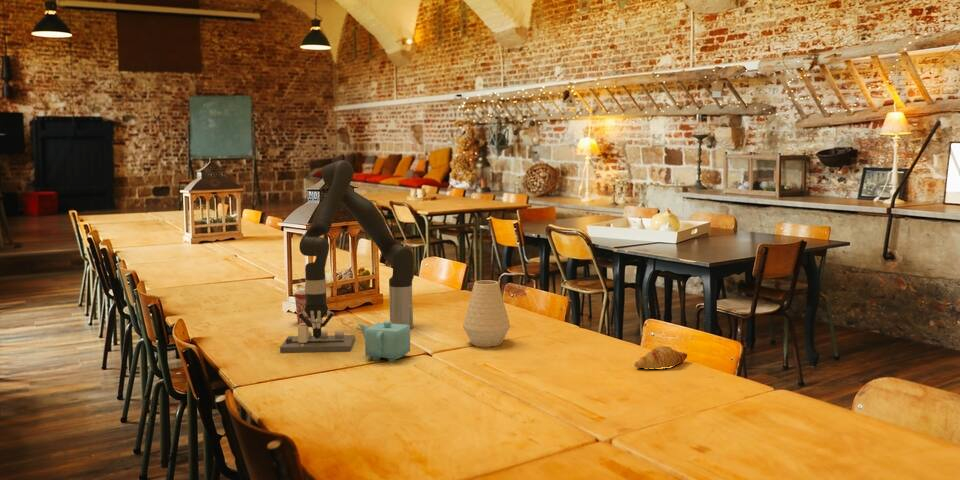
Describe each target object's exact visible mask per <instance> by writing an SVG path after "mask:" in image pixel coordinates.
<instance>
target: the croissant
mask: <svg viewBox="0 0 960 480" xmlns="http://www.w3.org/2000/svg"><path fill="white" fill-rule="evenodd" d="M687 358H688V354H687V353H686V352H682V351H677V350H676V349H672V347H670V346H664V345H663V346H662V345H661V346H657V347H655V348H653V349H652V350H651V351H650V352H649V351H648V352H647V353H646V354H645V356H642V357H640V358H639V360H638V361H635V362H634V368H636V367H637V369H639V368H661V367H670V366H674V365H677V364H679V363H680V364H682V363H683V362H682V361H686V359H687ZM681 362H682V363H681ZM680 364H679V365H680ZM677 366H678V365H677Z"/></svg>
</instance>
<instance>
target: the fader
mask: <svg viewBox="0 0 960 480" xmlns="http://www.w3.org/2000/svg"><path fill="white" fill-rule="evenodd" d="M309 328H310V327H308V326H307V325H306V324H305V323H300V324H299V325H297V336H298V343H307V341H308V340H309V331H310V330H309Z"/></svg>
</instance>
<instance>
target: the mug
mask: <svg viewBox="0 0 960 480" xmlns="http://www.w3.org/2000/svg"><path fill="white" fill-rule="evenodd" d="M293 294H294V300H295V310H296V319H297V326H299V324H300V323H304V321H303V320H302V319H301V318H300V317H299V314H300V313H301V312H303V311H304V309H305V306H306V299H305V289H301V290H297V291H294V292H293ZM306 317H307V318H308V319H309V321H310V322H311V323H312V321H311V318H310V317H309V316H308V315H307V313H306Z"/></svg>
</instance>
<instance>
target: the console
mask: <svg viewBox="0 0 960 480" xmlns="http://www.w3.org/2000/svg"><path fill="white" fill-rule="evenodd" d="M344 332H345V330H343V329H337V330H335V331H334V334H333V335H328V330H325V329H324V330H323V329H321V337H320V338H315V337H313V335H312V330H309V340H308V341H307V343H298V335H288V336H287V337H286V339H285V340H284V341H283V343H282V344H281V345H280V347H279V353H280V354H283V353H291V354H292V353H331V352H332V353H333V352H336V353H337V352H338V353H339V352H341V353H342V352H351V351H352V348H353V346H354V344H355V341H356V334H348V335H347V334H345V333H344Z"/></svg>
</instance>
